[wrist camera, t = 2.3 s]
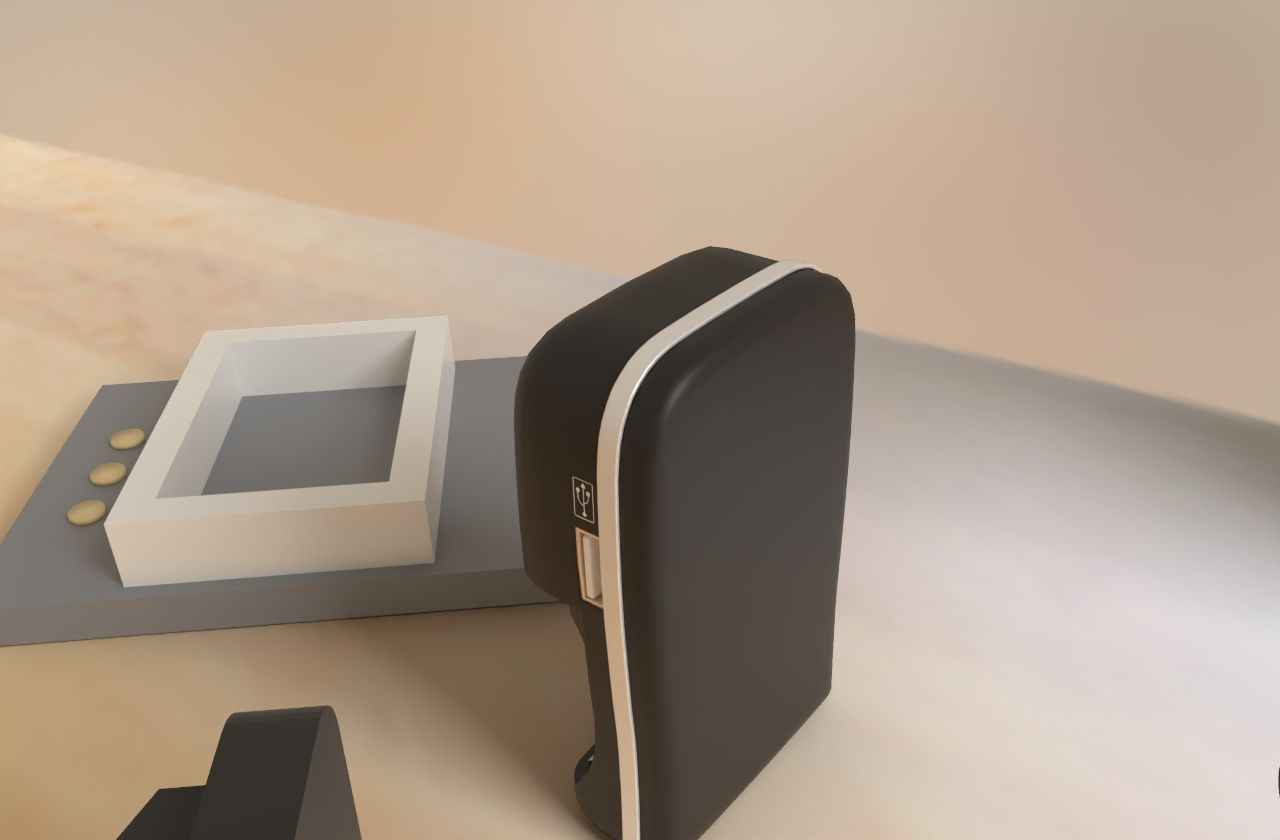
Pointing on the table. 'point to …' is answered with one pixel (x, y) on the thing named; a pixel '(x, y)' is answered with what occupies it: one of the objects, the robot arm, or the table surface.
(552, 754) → the table surface
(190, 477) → the charging dock
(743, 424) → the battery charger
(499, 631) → the table surface
